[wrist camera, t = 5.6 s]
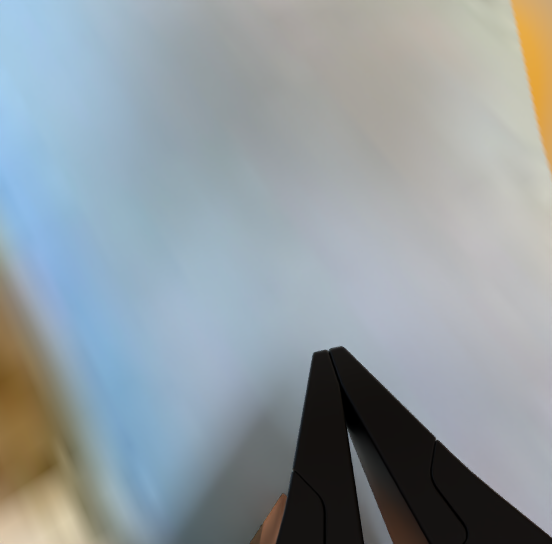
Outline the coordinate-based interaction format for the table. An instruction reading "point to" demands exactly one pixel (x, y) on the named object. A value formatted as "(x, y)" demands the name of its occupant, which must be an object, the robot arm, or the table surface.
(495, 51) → the table surface
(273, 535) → the walnut pillar
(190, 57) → the table surface
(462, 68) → the table surface
